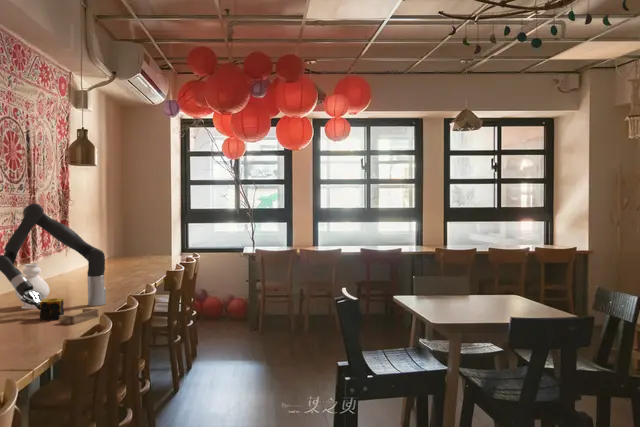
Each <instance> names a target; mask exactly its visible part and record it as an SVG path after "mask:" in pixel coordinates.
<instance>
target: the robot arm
mask: <svg viewBox="0 0 640 427" xmlns="http://www.w3.org/2000/svg"><path fill="white" fill-rule="evenodd" d="M22 213H23V218H22V221H21V222H20V224H19V225H18V227H17V228H16V229H15V231H14V232H13V234H12V235H11V236H10V238H9V240H8V241H7V243H6V244H5V246H4V254H0V272H1V273H2V274H3V275H4V276H5V278H7V281H8V282H9V283H10V284H11V286H12V288H14V289H15V291H17V292H18V293H19V294H20V295H21V296H23V298H22V299H21V300H22V301H24V302H26V303H28V304H30V305H32V304H33V305H35V306H36V307H37V308H36V309H37V310H38V311H41V307H40V301H41V300H42V293H36V291H35V290H34V289H33V286H32V284H31V283H30V282H29V281H28V280H27V278H26V275H25V274H24V273H23V272H21V271H20V270H19V269H18V267H16V266H15V263H16V262H15V261H16V259H17V256H18V253H19V252H20V249H21V248H22V246H23V245H24V243H25V242H26V239H27V238H28V236H29V235H30V232H31V230H32V229H33V227H34V226H35V225H36V226H38V227H40V228H41V229H42V230H44V231H46V232H47V233H48V234H49V235H50V236H52V237H53V238H54V239H55V240H57V241H58V242H60V243H61V244H63V245H64V246H66V247H68V248H69V249H71V250H74V251H75V252H77V253H78V254H79V255H81V256H82V257H83V258H84V259H85V260H86V261H87V263H88V264H87V265H88V267H87V268H88V269H87V272H86V273H87V305H88V306H90V307H92V306H93V307H96V306H103V305H106V304H107V288H106V287H105V270H106V256H105V252H104V251H103V250H101V249H99V248H97V247H94V245H93V246H92V245H91V244H89V243H87V242H86V241H85V240H84V239H83V238H82V237H81V236H80V235H79V234H78V233H76V232H75V231H74V229H71V228H70V227H69V226H67V225H65V224H63V223H61V222H59V221H57V220H56V219H53V218H51V217H50V216H49V215H47V214H46V213H45V212H44V208H43V206H41V204H38V203H31V204H29V205H26V206H25V207H24V209H23V212H22ZM24 275H25V276H24Z"/></svg>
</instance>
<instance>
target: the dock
mask: <svg viewBox="0 0 640 427" xmlns="http://www.w3.org/2000/svg"><path fill="white" fill-rule="evenodd" d="M99 310H100V309H99V308H84V307H83V308H82V312H80V313H77V314H73V315H69V314H67V315H66V314H64V315H60V316H59V321H58V322H59V323H65V324H64V325H77V324H80V323H82V322H86V321H89V319H90V320H93V319H96V318H99V316H100V315H99V314H100V311H99Z"/></svg>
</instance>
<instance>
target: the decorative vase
mask: <svg viewBox="0 0 640 427" xmlns="http://www.w3.org/2000/svg"><path fill="white" fill-rule="evenodd" d="M24 266H25V268H24V269H22V274H23V275H25V277H26V278H27V280H28V281H29V282H30V283H31V284H32V286H33V289H34V290H35V291H36V293H42V300H43V299H47V297H48V295H50V291H51V290H50V286H49V284H48V283H47V282H46V281H45V280H44V279H43V278H42V277H41V276H40V274H41V272H42V269H41V267H40V263H34V262H33V263H25V264H24ZM15 296H16V298H17V299H18V300H19V301H20V302H21V303H22V304H23V305H21V306H20V309H23V310H31V309H33V310H34V309H37V307H36V306H35V305H33V304H32V305H30V304H28V303H26V302H24V301H22V300H21V299H22V298H23V296H21V295H20V294H19V293H18V292H17V291H16V290H15ZM42 300H41V301H42Z"/></svg>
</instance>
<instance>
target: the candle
mask: <svg viewBox="0 0 640 427" xmlns="http://www.w3.org/2000/svg"><path fill="white" fill-rule="evenodd" d="M64 302H65V299H64V297H59V298H58V297H57V298H56V297H52V298H46V299H43V300H42V301H40V307H41V310H39V321H41V322H43V321H42V320H47V321H56V320H55V319H59V316H60V315H65V314H64V312H65V310H64Z"/></svg>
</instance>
